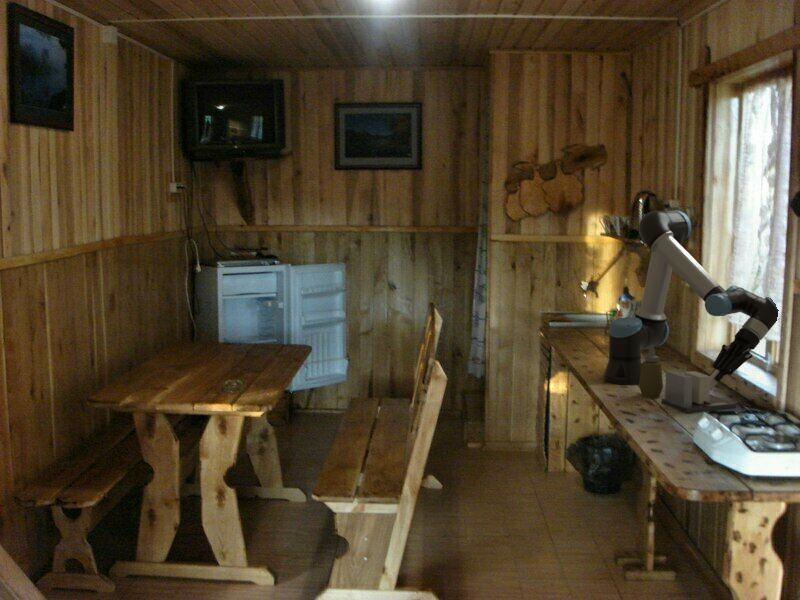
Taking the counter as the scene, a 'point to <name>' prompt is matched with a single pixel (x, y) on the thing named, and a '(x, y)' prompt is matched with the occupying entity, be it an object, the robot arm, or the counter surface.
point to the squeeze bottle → (651, 375)
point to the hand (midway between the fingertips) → (707, 386)
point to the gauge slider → (700, 387)
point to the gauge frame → (689, 395)
